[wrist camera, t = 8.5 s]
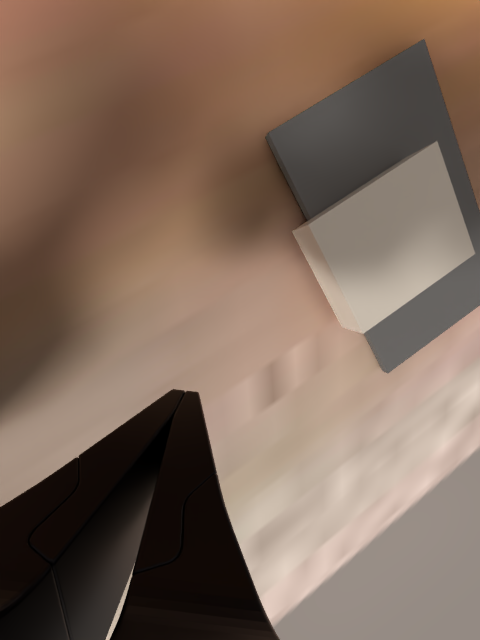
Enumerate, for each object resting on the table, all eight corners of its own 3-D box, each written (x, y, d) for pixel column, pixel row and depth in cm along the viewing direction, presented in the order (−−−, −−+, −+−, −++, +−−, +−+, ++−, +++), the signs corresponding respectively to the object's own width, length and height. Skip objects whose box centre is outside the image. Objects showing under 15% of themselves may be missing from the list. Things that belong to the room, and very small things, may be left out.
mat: (382, 370, 22) (387, 373, 22) (265, 137, 17) (268, 132, 17) (495, 287, 24) (503, 287, 23) (416, 46, 19) (424, 38, 18)
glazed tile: (363, 334, 18) (475, 253, 19) (308, 224, 16) (437, 140, 17) (339, 326, 20) (439, 256, 21) (289, 232, 18) (402, 159, 19)
